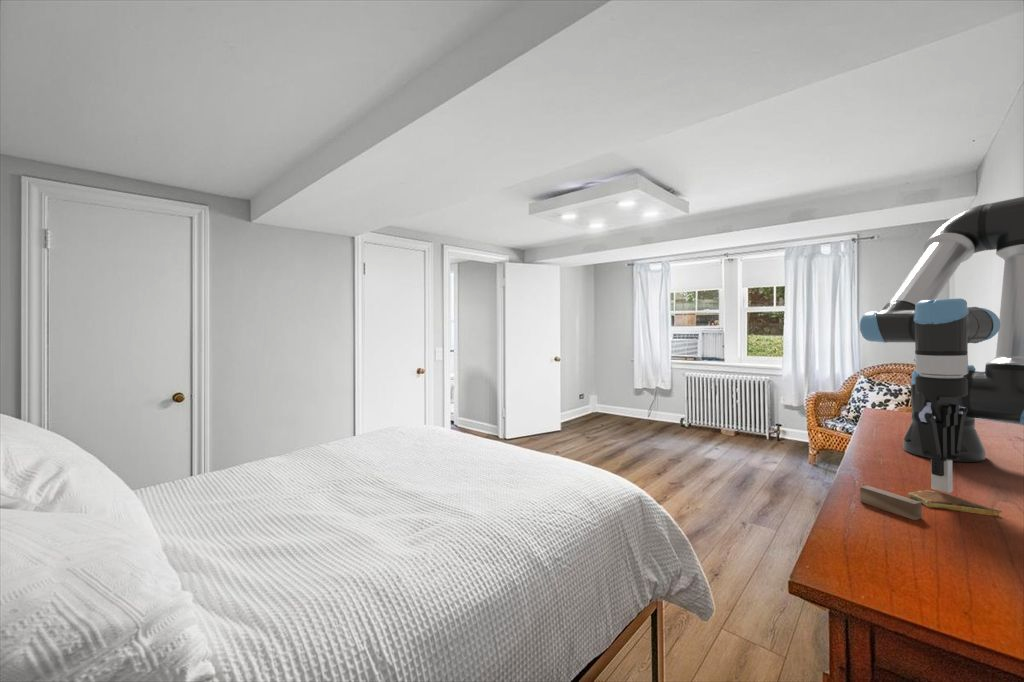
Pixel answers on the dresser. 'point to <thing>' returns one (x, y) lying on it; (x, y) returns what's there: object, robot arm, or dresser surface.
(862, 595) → the dresser surface
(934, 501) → the shard
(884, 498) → the walnut rail
